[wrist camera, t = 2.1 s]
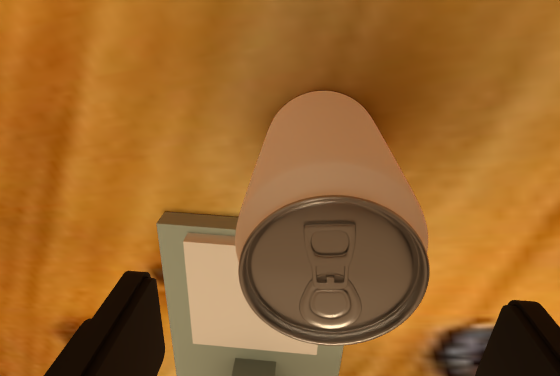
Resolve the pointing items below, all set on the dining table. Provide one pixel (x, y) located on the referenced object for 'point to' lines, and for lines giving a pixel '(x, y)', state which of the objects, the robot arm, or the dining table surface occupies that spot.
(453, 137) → the dining table surface
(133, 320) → the robot arm
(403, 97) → the dining table surface
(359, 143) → the can
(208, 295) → the press
